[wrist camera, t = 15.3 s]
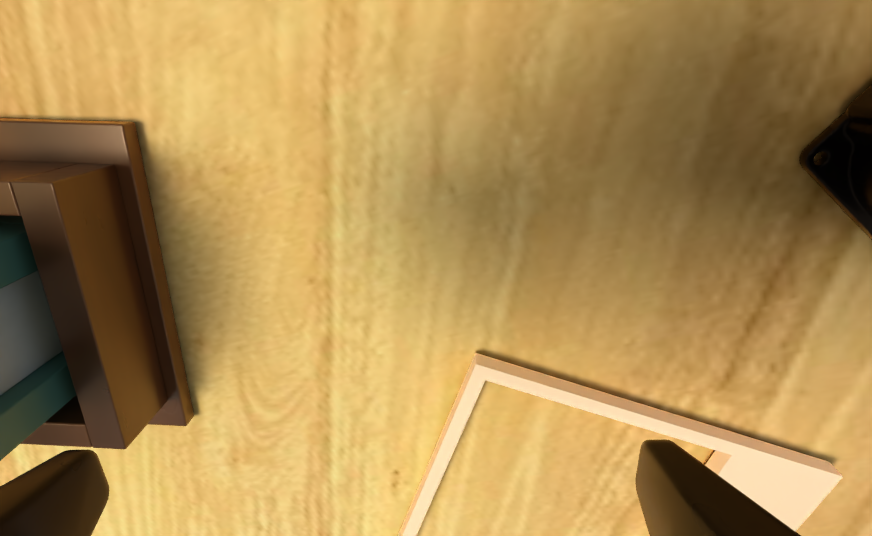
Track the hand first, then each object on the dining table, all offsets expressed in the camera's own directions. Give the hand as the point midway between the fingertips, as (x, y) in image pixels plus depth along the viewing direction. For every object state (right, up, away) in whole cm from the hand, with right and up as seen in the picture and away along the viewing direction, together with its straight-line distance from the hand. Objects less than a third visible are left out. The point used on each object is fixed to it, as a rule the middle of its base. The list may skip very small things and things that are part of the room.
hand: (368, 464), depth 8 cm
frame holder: (-15, +3, +14) cm, 20 cm away
